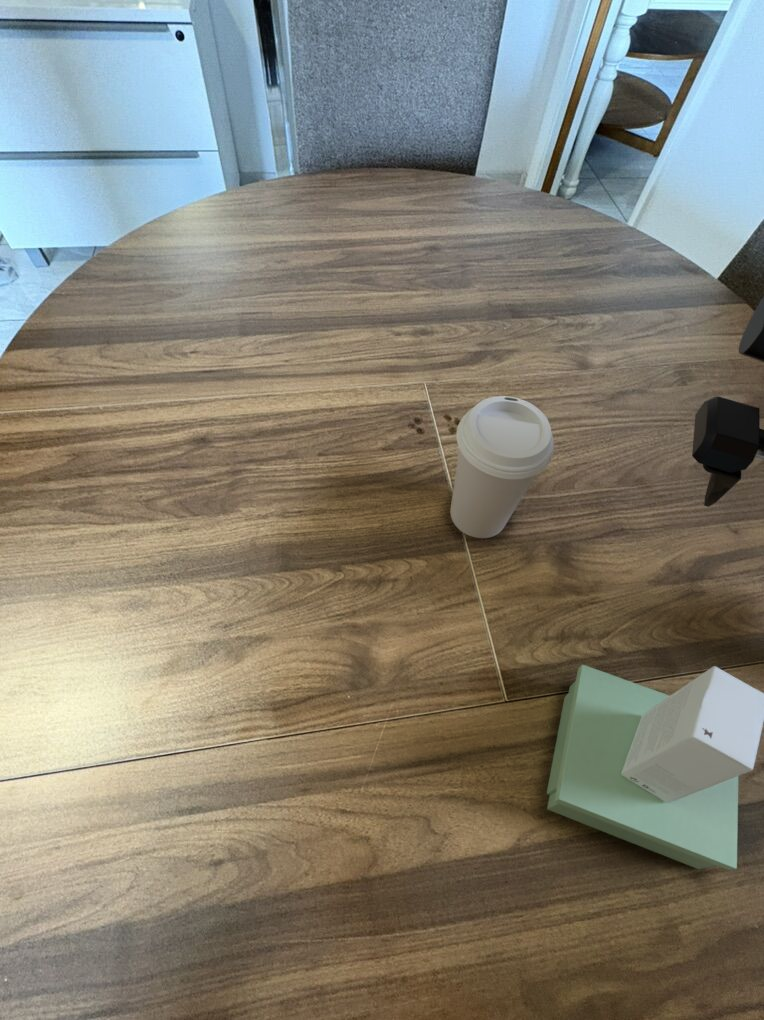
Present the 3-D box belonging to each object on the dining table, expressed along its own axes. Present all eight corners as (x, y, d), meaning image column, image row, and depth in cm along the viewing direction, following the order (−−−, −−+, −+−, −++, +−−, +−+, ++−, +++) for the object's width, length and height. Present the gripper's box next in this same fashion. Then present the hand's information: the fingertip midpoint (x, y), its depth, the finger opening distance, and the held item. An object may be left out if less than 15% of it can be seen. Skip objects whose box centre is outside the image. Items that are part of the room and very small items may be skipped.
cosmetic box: (668, 805, 49) (753, 774, 39) (618, 775, 50) (689, 736, 40) (688, 740, 52) (772, 695, 43) (641, 712, 53) (712, 662, 44)
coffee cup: (532, 504, 72) (574, 416, 59) (498, 564, 67) (537, 481, 54) (459, 469, 74) (485, 376, 62) (422, 524, 69) (442, 435, 57)
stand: (710, 735, 58) (739, 720, 54) (704, 874, 51) (737, 869, 47) (564, 682, 60) (582, 664, 56) (540, 809, 53) (558, 799, 49)
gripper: (998, 363, 47) (854, 485, 60) (749, 296, 49) (662, 428, 62) (1035, 468, 41) (866, 579, 53) (748, 386, 43) (652, 511, 56)
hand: (756, 518), depth 56 cm, fingers open, 9 cm apart
